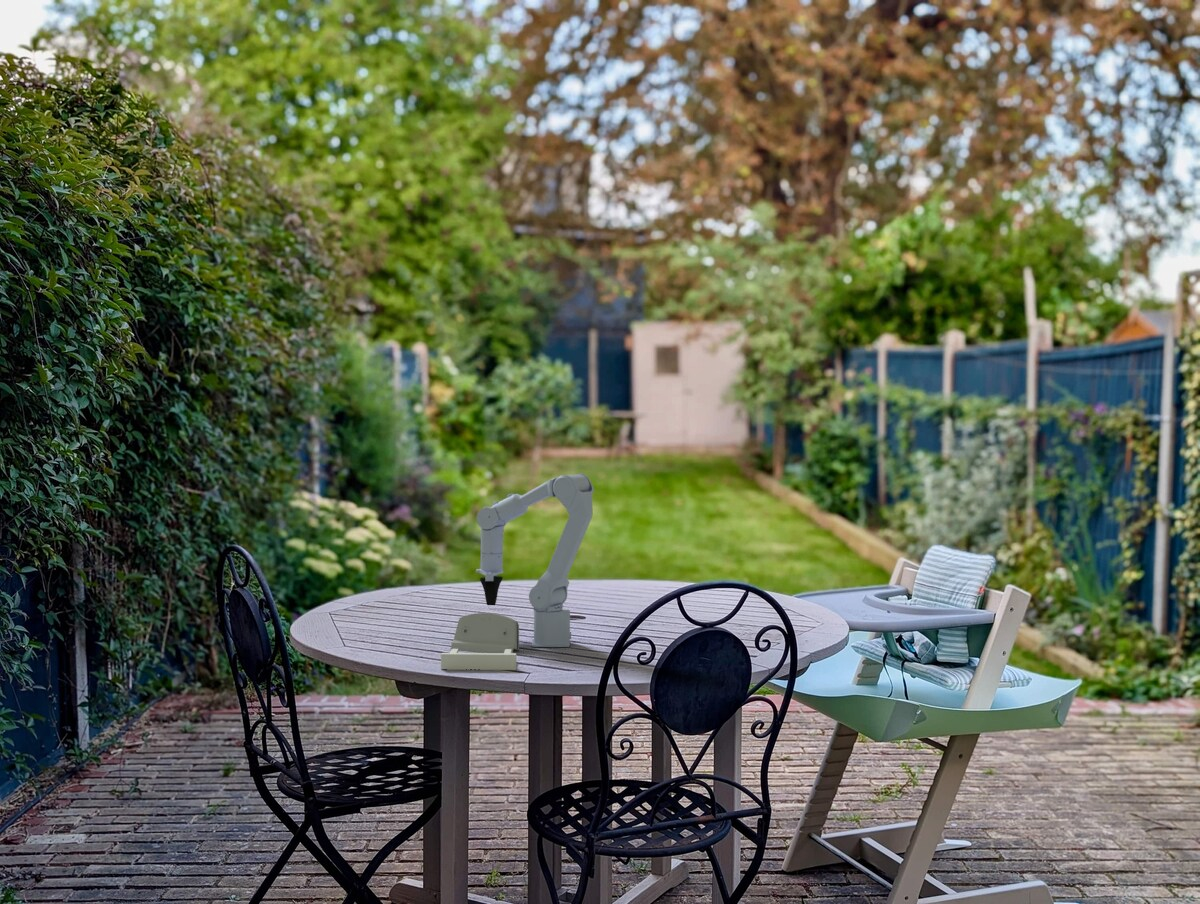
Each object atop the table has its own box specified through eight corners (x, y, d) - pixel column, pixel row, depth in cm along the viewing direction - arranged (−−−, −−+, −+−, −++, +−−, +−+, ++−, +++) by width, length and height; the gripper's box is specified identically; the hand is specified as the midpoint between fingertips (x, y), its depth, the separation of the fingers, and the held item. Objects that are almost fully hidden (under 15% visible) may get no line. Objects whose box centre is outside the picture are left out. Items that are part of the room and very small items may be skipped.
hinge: (449, 649, 278) (454, 609, 281) (456, 652, 282) (461, 613, 285) (513, 654, 274) (518, 613, 277) (519, 657, 278) (524, 616, 281)
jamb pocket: (517, 661, 265) (517, 647, 265) (515, 670, 257) (515, 654, 256) (445, 661, 265) (445, 646, 265) (440, 669, 256) (441, 654, 256)
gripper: (478, 549, 300) (478, 600, 300) (473, 556, 285) (473, 609, 286) (505, 549, 300) (504, 600, 300) (501, 556, 285) (501, 609, 286)
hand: (491, 604), depth 293 cm, fingers closed
